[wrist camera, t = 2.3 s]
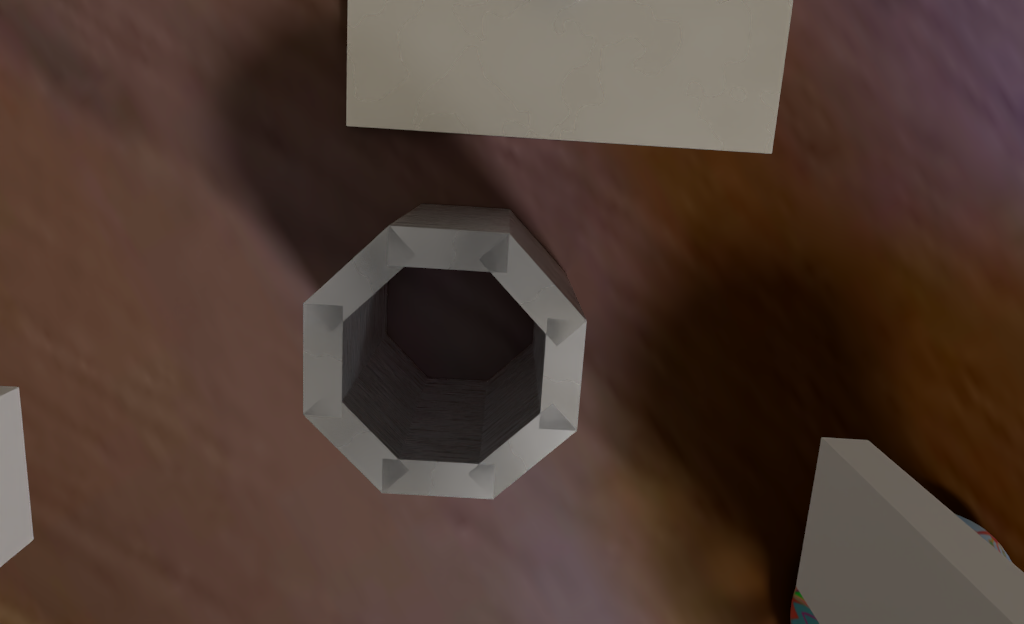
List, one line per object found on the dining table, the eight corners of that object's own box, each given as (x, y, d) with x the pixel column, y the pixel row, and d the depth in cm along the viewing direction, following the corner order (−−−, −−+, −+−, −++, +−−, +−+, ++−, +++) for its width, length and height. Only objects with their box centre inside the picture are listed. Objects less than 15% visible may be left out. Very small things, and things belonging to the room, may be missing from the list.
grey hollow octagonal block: (357, 399, 26) (303, 488, 20) (360, 199, 25) (303, 219, 18) (555, 411, 26) (570, 503, 20) (571, 212, 25) (594, 238, 18)
